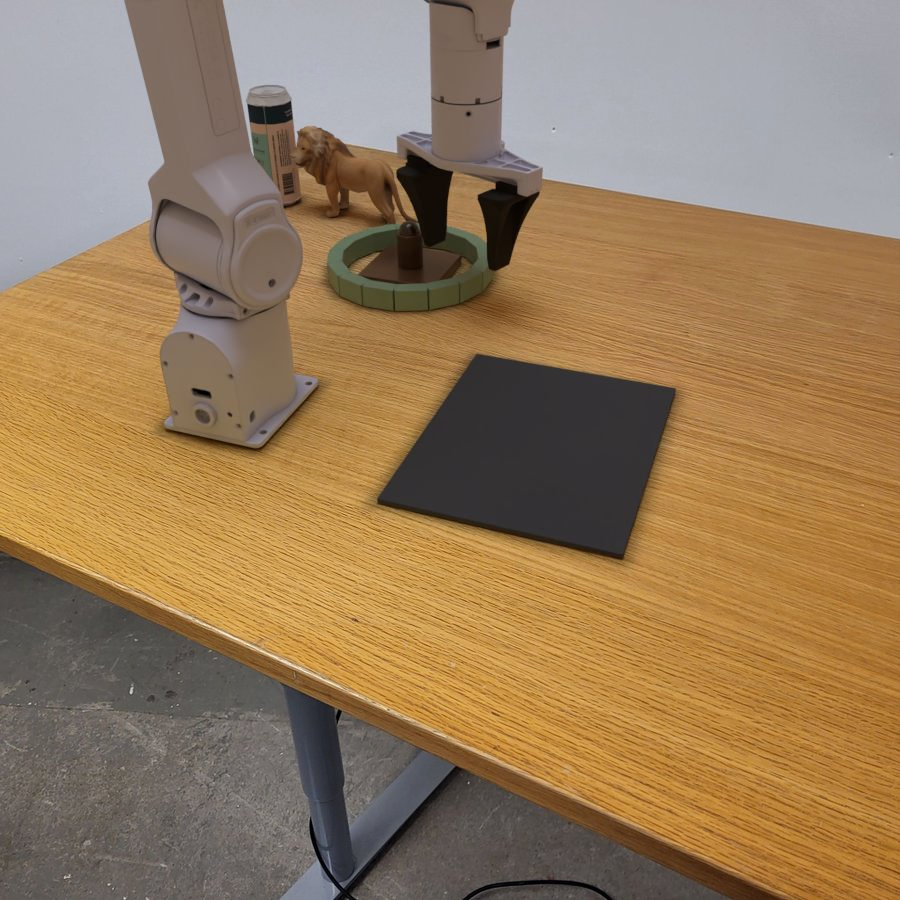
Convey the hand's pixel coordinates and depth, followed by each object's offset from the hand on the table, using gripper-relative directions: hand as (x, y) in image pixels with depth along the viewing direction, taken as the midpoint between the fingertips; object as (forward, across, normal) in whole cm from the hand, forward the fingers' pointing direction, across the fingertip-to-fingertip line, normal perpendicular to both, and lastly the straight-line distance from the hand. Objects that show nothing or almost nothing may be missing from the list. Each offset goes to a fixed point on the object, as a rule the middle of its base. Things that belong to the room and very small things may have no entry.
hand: (466, 254), depth 82 cm
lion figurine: (+4, +21, -6) cm, 23 cm away
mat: (+4, -19, +14) cm, 24 cm away
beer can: (+4, +31, -4) cm, 32 cm away
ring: (+4, +7, 0) cm, 8 cm away
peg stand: (+4, +7, 0) cm, 8 cm away
